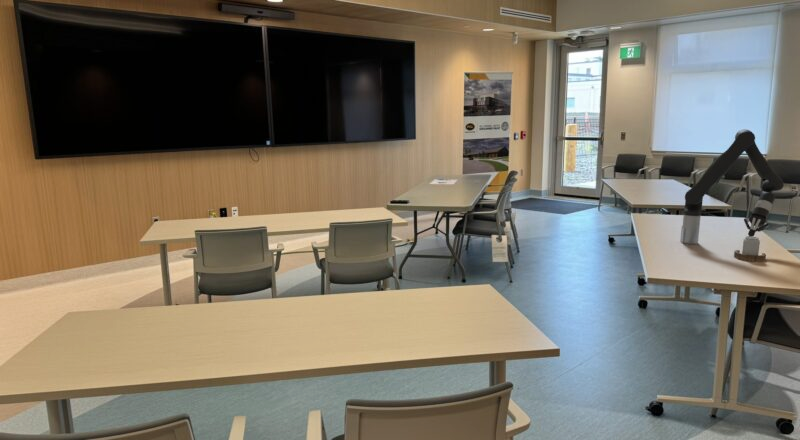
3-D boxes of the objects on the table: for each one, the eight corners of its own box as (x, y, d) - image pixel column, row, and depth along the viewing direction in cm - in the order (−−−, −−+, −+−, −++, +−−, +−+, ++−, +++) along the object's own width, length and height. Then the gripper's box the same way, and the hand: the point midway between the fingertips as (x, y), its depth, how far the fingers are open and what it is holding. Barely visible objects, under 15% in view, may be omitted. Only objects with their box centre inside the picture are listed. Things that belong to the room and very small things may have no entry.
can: (749, 260, 291) (752, 239, 289) (738, 257, 298) (740, 236, 296) (761, 260, 293) (763, 238, 291) (749, 256, 300) (752, 235, 298)
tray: (738, 260, 292) (739, 255, 291) (731, 254, 304) (731, 249, 304) (769, 262, 288) (770, 256, 287) (760, 256, 301) (761, 251, 300)
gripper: (748, 204, 310) (736, 230, 308) (775, 209, 301) (763, 236, 299) (749, 209, 316) (737, 235, 313) (775, 215, 307) (764, 242, 304)
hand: (750, 236), depth 306 cm, fingers closed
